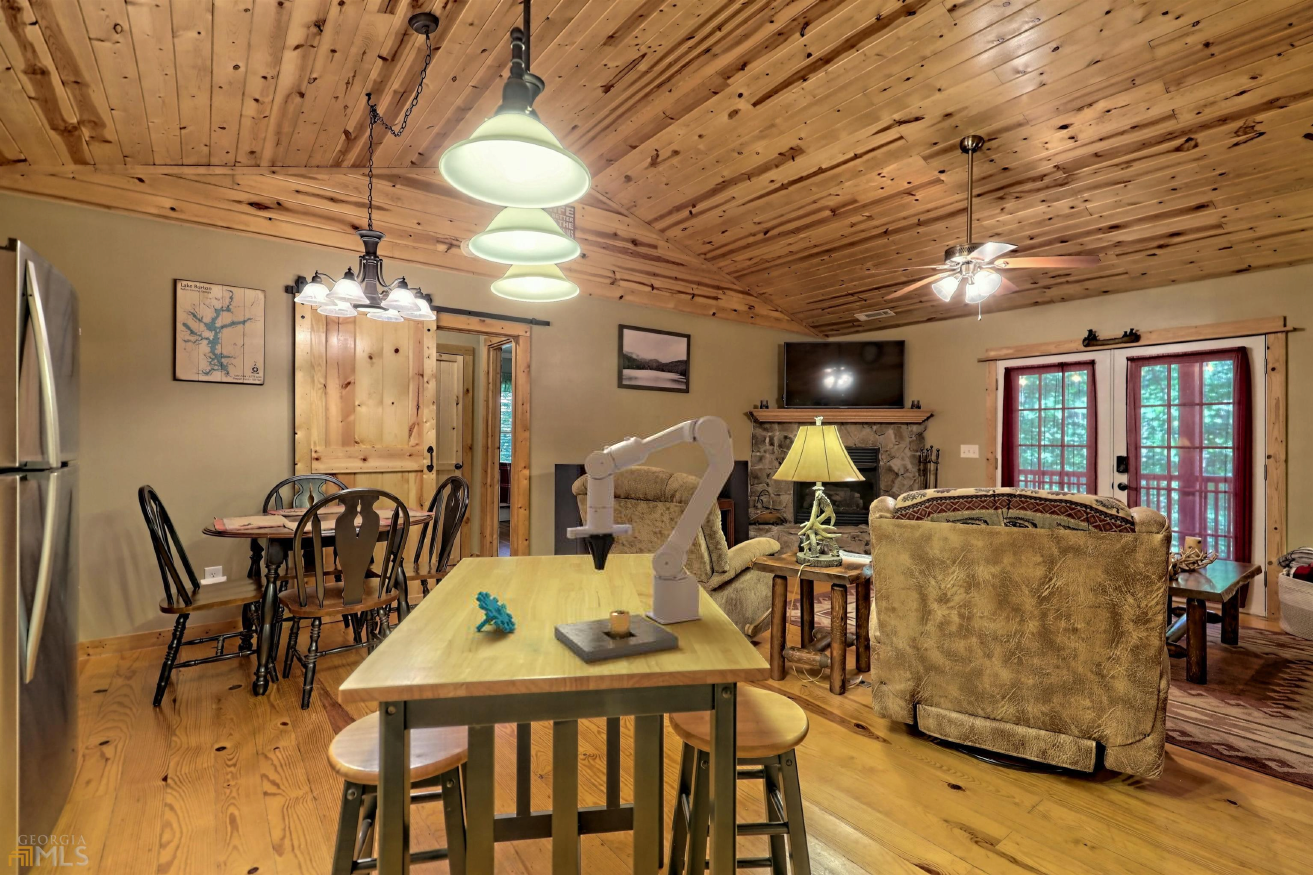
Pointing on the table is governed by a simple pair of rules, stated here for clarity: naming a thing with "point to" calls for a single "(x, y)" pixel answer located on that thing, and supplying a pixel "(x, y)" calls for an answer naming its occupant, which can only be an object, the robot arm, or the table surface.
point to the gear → (494, 612)
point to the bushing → (619, 624)
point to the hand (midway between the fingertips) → (599, 569)
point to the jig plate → (597, 646)
